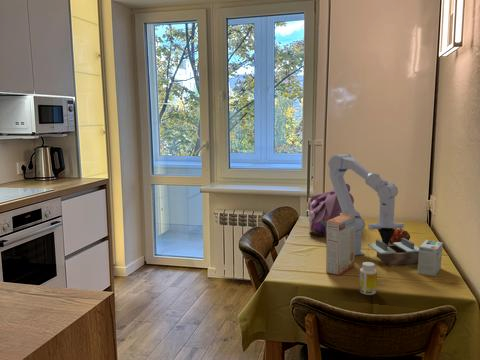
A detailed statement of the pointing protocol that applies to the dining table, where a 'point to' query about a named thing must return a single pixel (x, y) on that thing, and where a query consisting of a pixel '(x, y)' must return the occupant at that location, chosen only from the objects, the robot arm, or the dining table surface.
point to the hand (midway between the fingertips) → (385, 245)
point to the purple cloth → (324, 210)
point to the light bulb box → (430, 257)
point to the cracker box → (340, 244)
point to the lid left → (381, 247)
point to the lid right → (406, 245)
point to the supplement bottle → (368, 278)
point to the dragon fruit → (399, 235)
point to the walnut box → (399, 257)
